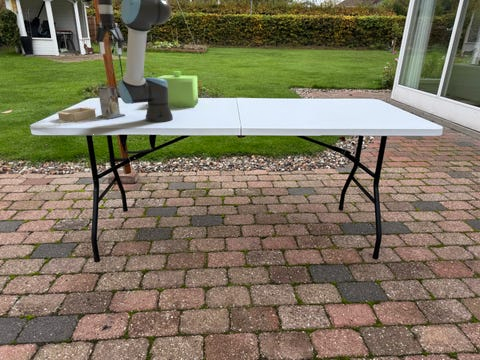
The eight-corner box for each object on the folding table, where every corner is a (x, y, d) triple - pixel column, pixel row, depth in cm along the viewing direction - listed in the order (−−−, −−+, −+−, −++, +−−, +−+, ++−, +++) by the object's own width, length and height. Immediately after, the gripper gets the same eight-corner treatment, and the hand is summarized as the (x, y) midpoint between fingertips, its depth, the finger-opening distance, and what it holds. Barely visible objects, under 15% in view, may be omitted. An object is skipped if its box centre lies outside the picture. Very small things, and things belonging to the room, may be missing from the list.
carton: (99, 116, 205) (98, 108, 203) (69, 122, 188) (68, 114, 187) (85, 114, 211) (83, 106, 209) (54, 120, 194) (53, 112, 192)
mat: (125, 116, 207) (125, 114, 207) (109, 119, 197) (109, 117, 197) (113, 114, 212) (113, 112, 211) (97, 117, 202) (97, 115, 201)
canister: (157, 107, 237) (155, 72, 229) (164, 102, 257) (162, 69, 249) (193, 107, 237) (192, 72, 228) (198, 102, 257) (197, 70, 248)
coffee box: (110, 113, 209) (107, 86, 203) (120, 114, 208) (117, 86, 202) (101, 116, 201) (97, 87, 195) (111, 116, 199) (107, 88, 194)
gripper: (127, 13, 191) (131, 54, 198) (96, 14, 202) (101, 53, 209) (117, 12, 184) (121, 54, 192) (85, 14, 196) (91, 53, 203)
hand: (111, 54), depth 201 cm, fingers open, 13 cm apart
